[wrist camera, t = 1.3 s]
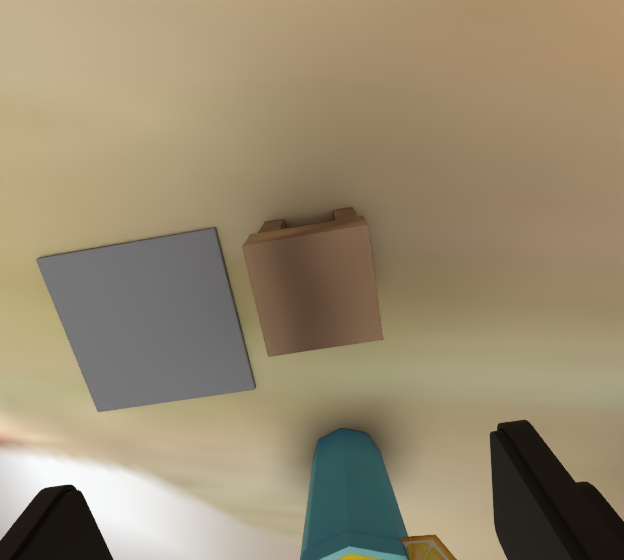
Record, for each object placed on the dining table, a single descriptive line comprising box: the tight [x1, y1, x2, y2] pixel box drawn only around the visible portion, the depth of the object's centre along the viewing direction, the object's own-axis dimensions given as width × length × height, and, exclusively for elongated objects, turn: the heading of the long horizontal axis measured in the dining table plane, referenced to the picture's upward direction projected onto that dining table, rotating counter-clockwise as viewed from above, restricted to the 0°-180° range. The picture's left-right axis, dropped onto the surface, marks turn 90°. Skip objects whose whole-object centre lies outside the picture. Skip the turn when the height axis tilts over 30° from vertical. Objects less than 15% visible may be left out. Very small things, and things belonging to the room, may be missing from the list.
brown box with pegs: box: [242, 207, 383, 357], centre depth 23 cm, size 6×6×7 cm
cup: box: [300, 428, 457, 560], centre depth 25 cm, size 14×8×15 cm, turn 145°
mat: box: [36, 227, 256, 412], centre depth 28 cm, size 12×12×1 cm
